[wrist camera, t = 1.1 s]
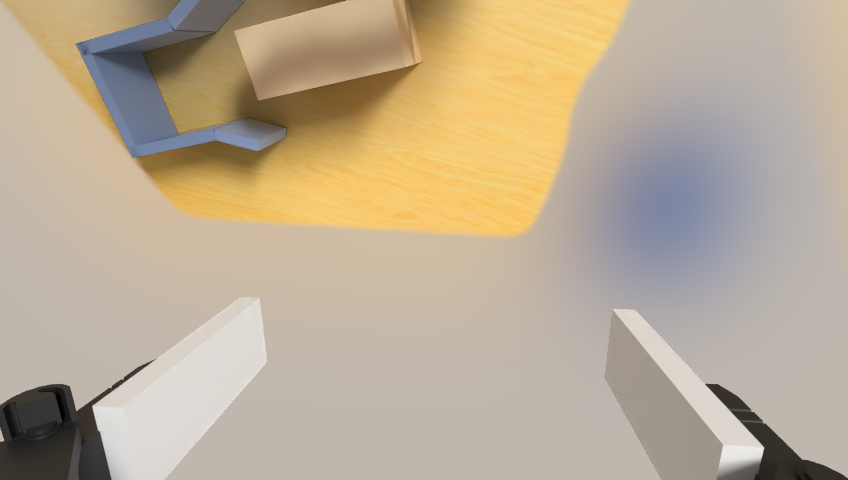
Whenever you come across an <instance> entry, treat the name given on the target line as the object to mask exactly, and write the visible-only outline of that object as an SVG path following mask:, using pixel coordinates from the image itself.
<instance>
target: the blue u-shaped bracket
mask: <svg viewBox="0 0 848 480" xmlns="http://www.w3.org/2000/svg"><path fill="white" fill-rule="evenodd" d="M243 2H244V1H243V0H180V2H179V3H178V4H177V5H176V6H175V8H174V9H173V10H172V11H171V12H170V14H169V15H168V16H167V17H166V18H164V19H160V20H157V21H153V22H150V23H146V24H143V25H139V26H136V27H132V28H129V29H125V30H122V31H118V32H115V33H111V34H108V35H105V36H101V37H98V38H94V39H91V40H87V41H84V42H80V43H77V44H76V46H77V48H78V50H79V52H80V54H81V56H82V58H83V60H84V62H85V64H86V66H87V68H88V70H89V72H90V74H91V76H92V78H93V80H94V82H95V84H96V86H97V88H98V90H99V92H100V94H101V96H102V98H103V100H104V102H105V104H106V106H107V108H108V110H109V112H110V114H111V116H112V118H113V120H114V122H115V124H116V126H117V128H118V130H119V132H120V134H121V136H122V138H123V140H124V142H125V144H126V146H127V148H128V150H129V152H130V154H131V156H132V158H135V157H140V156H144V155H149V154H154V153H159V152H163V151H168V150H173V149H178V148H182V147H187V146H192V145H197V144H201V143H206V142H211V141H220V142H224V143H228V144H232V145H235V146H239V147H243V148H247V149H251V150H254V151H259V150H261V149H263V148H265V147H268V146H270V145H272V144H274V143H276V142H278V141H280V140H282V139H284V138H286V128H284V127H280V126H277V125H273V124H269V123H265V122H261V121H257V120H254V119H250V118H248V119H247V118H245V119H241V120H236V121H231V122H227V123H222V124H218V125H213V126H209V127H204V128H199V129H195V130H190V131H186V132H181V133H178V131H177V129H176V127H175V125H174V122H173V120H172V118H171V115H170V113H169V111H168V109H167V106H166V104H165V102H164V100H163V97H162V95H161V93H160V91H159V88H158V86H157V84H156V82H155V79H154V77H153V75H152V73H151V70H150V68H149V66H148V63H147V61H146V59H145V57H144V54H143V52H145V51H149V50H153V49H157V48H160V47H164V46H168V45H171V44H175V43H179V42H182V41H186V40H190V39H194V38H197V37H201V36H205V35H208V34H212V33H215V31H216V32H217V31H218V30H219V29H220V28H221V26H222V25H223V24H224V23H225V22H226V21H227V20H228V19H229V18H230V17H231V16H232V14H233V13H234V12H235V11H236V10H237V9H238V8H239V7H240V6H241V5H242V3H243Z"/></svg>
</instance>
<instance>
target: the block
mask: <svg viewBox="0 0 848 480" xmlns="http://www.w3.org/2000/svg"><path fill="white" fill-rule="evenodd" d="M234 33H235V36H236V39H237V42H238V45H239V47H240V50H241V53H242V56H243V59H244V62H245V64H246V67H247V70H248V73H249V76H250V78H251V81H252V84H253V87H254V90H255V93H256V95H257V98H258V101H259V100H263V99H268V98H272V97H276V96H281V95H285V94H290V93H294V92H298V91H303V90H307V89H312V88H316V87H320V86H325V85H329V84H334V83H338V82H342V81H347V80H351V79H356V78H360V77H365V76H369V75H373V74H378V73H382V72H387V71H391V70H395V69H400V68H404V67H408V66H411V65H414V64H417V63H420V62H422V61H421V56H420V51H419V46H418V41H417V36H416V30H415V25H414V20H413V15H412V10H411V5H410V1H409V0H346V1H343V2H339V3H335V4H332V5H328V6H324V7H320V8H317V9H313V10H309V11H305V12H302V13H298V14H294V15H291V16H287V17H283V18H279V19H276V20H272V21H268V22H265V23H261V24H257V25H253V26H250V27H246V28H242V29H238V30H235V31H234Z"/></svg>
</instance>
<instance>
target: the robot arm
mask: <svg viewBox="0 0 848 480" xmlns="http://www.w3.org/2000/svg"><path fill="white" fill-rule="evenodd" d="M265 349H266V348H265V340H264V332H263V323H262V314H261V306H260V298H245V297H241V298H239V299H238V300H236V301H235V302H234V303H232V304H231V305H230V306H228V307H227V308H226V309H224V310H223V311H221V312H220V313H219V314H217V315H216V316H215V317H213V318H212V319H211V320H209V321H208V322H206V323H205V324H204V325H202V326H201V327H200V328H198V329H197V330H195V331H194V332H193V333H192V334H190V335H189V336H187V337H186V338H185V339H183V340H182V341H180V342H179V343H178V344H176V345H175V346H174V347H172V348H171V349H170V350H168V351H167V352H166V353H164V354H163V355H162V356H160V357H159V358H157V359H155V360H153V361H151V362H148V363H146V364H144V365H142V366H140V367H138V368H137V369H135V370H134V371H132V372H131V373H129V374H128V375H127V376H125V377H124V379H123V380H120V381H118V382H117V383H115V384H114V385H113V386H112V388H108V389H107V390H106V391H104V392H103V393H102V394H100V395H99V396H97V397H96V398H94V399H93V400H92V401H90V402H89V403H88V404H86V405H85V406H83V407H82V408H81V409H79V410H78V411H76V409H75V404H74V401H73V397H72V393H71V389H70V386H67V385H64V384H53V385H47V386H41V387H37V388H34V389H32V390H28V391H25V392H23V393H21V394H19V395H16V396H14V397H12V398H10V399H9V400H7V401H6V402H4V403H3V404H1V405H0V428H1V431H2V434H3V438H4V441H3V442H0V480H164V479H165V478H166V477H167V476H168V475H169V473H170V472H171V471H172V470H173V469H174V468H175V467H176V465H177V464H178V463H179V462H180V461H181V460H182V459H183V458H184V456H185V455H186V454H187V453H188V452H189V451H190V450H191V448H192V447H193V446H194V445H195V444H196V443H197V442H198V440H199V439H200V438H201V437H202V436H203V435H204V433H205V432H206V431H207V430H208V429H209V428H210V427H211V425H212V424H213V423H214V422H215V421H216V420H217V418H218V417H219V416H220V415H221V414H222V412H224V411H225V409H226V408H227V407H228V406H229V405H230V404H231V402H232V401H233V400H234V399H235V398H236V397H237V396H238V394H239V393H240V392H241V391H242V390H243V389H244V388H245V386H246V385H247V384H248V383H249V382H250V381H251V379H252V378H253V377H254V376H255V375H256V374H257V373H258V371H259V370H260V369H261V368H262V367H263V366H264V364H265V363H266V362H267V357H266V350H265ZM605 379H606V381H607V383H608V385H609V386H610V388H611V390H612V392H613V394H614V395H615V397H616V399H617V401H618V403H619V404H620V406H621V408H622V410H623V411H624V413H625V415H626V417H627V419H628V420H629V422H630V424H631V426H632V428H633V429H634V431H635V433H636V435H637V437H638V438H639V440H640V442H641V444H642V445H643V447H644V449H645V451H646V453H647V455H648V456H649V458H650V460H651V462H652V464H653V465H654V467H655V469H656V471H657V472H658V474H659V476H660V478H661V480H848V478H846V477H845V476H844V475H842V474H840V473H838V472H836V471H834V470H832V469H830V468H828V467H826V466H824V465H821V464H818V463H815V462H811V461H809V460H802V459H801V458H800V457H799V456H798V455H797V454H796V453H795V452H794V451H793V450H792V449H791V448H790V447H789V446H788V445H787V444H786V443H785V442H784V441H783V440H782V439H781V438H780V437H778V435H777V434H776V433H775V432H773V431H772V429H770V428H769V427H768V426H767V425H766V424H764V423H763V421H762V420H761V419H760V418H759V417H758V416H757V415H756V414H755V413H754V412H751V409H750V408H749V407H748V406H747V405H746V404H745V403H744V402H743V401H742V400H741V399H740V398H739V397H738V396H736V395H735V394H733V393H731V392H730V391H728V390H726V389H724V388H723V387H721V386H720V385H718V384H704V383H703V382H702V381H701V380H700V379H699V377H698V376H696V374H695V373H694V372H693V371H692V370H691V369H690V368H689V367H688V366H687V365H686V364H685V363H684V361H683V360H682V359H681V358H680V357H678V355H677V354H676V353H675V352H674V351H673V350H672V349H671V348H670V347H669V346H668V344H667V343H666V342H665V341H664V340H663V339H662V338H661V337H660V336H659V335H658V334H657V333H656V332H655V331H654V330H653V328H652V327H651V326H650V325H649V324H648V323H647V322H646V321H645V320H644V319H643V318H642V317H641V316H640V315H639V314H638V313H637V311H636V310H624V309H612V318H611V327H610V335H609V344H608V353H607V363H606V371H605Z"/></svg>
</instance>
